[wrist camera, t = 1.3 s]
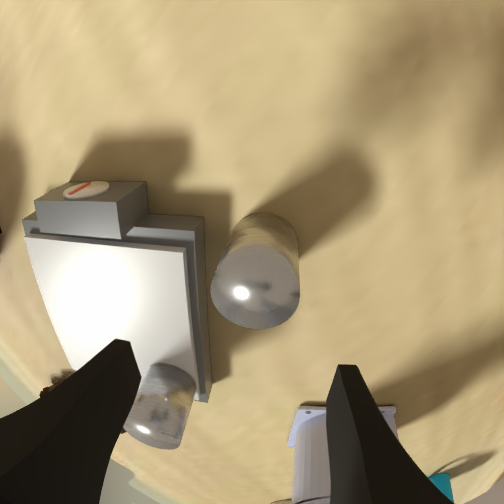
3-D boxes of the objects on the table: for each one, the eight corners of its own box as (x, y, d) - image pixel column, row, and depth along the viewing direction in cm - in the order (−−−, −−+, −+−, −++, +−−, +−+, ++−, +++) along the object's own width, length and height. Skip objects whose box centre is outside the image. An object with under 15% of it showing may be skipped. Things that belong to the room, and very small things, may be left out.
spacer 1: (194, 368, 20) (175, 427, 16) (198, 400, 22) (183, 454, 18) (141, 358, 21) (115, 412, 16) (151, 391, 22) (130, 440, 18)
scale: (203, 178, 17) (182, 198, 14) (212, 384, 25) (203, 418, 22) (33, 179, 18) (0, 196, 15) (83, 356, 26) (67, 382, 23)
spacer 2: (301, 216, 17) (305, 260, 13) (294, 277, 19) (293, 332, 15) (229, 210, 18) (208, 251, 13) (229, 271, 19) (211, 324, 15)
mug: (446, 481, 36) (452, 516, 29) (405, 494, 38) (409, 529, 31) (453, 461, 32) (462, 503, 24) (405, 477, 34) (410, 520, 27)
